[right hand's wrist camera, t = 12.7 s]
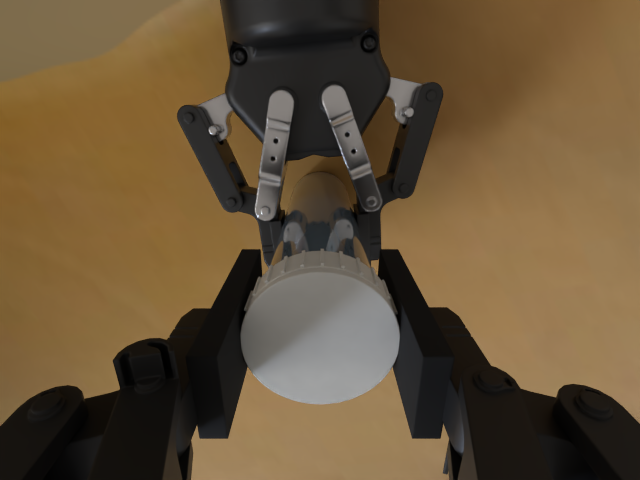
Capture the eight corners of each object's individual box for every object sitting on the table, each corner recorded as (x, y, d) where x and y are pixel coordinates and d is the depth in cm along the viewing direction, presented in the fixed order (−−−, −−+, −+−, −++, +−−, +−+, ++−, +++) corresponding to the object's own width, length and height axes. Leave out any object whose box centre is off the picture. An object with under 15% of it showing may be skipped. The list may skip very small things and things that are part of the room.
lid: (376, 378, 13) (383, 413, 12) (242, 362, 13) (232, 397, 12) (408, 259, 12) (421, 282, 10) (253, 237, 11) (242, 258, 10)
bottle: (343, 230, 28) (373, 394, 12) (288, 222, 27) (247, 379, 12) (352, 176, 26) (401, 284, 11) (295, 167, 26) (258, 266, 10)
